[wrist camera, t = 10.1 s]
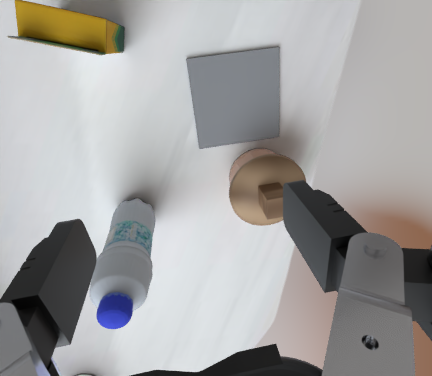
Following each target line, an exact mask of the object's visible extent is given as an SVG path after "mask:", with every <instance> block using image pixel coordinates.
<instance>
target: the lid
mask: <svg viewBox="0 0 432 376" xmlns="http://www.w3.org/2000/svg"><path fill="white" fill-rule="evenodd" d="M299 180H304V181H305V182H306V179H305V175H304V173H303V171H302V170H301V168H300V167H299V166H298V165H297V164H296V163H295V162H294V161H293V160H291V159H290V158H288V157H286V156H283V155H278V154H266V155H261V156H258V157H255V158H253V159H251V160H250V161H248V162H246V163H245V164H244V165H243V166H242V167H241V168H240V169H239V170H238V171H237V172H236V174H235V175H234V177H233V179H232V181H231V184H230V189H229V198H230V202H231V205H232V208H233V210H234V211H235V213H236V214H237V215H238V216H239V217H240V218H241V219H242V220H244V221H245V222H247V223H250V224H254V225H271V224H275V223H278V222H280V221H282V220H283V186H284V184H285V183H288V182H294V181H299Z"/></svg>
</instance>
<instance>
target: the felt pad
mask: <svg viewBox="0 0 432 376" xmlns="http://www.w3.org/2000/svg"><path fill="white" fill-rule="evenodd" d="M186 60H187V66H188V73H189V80H190V87H191V94H192V101H193V108H194V114H195V121H196V128H197V135H198V142H199V148H200V149H203V148H209V147H216V146H222V145H229V144H235V143H242V142H248V141H255V140H261V139H268V138H274V137H279V47H274V48H267V49H259V50H251V51H243V52H236V53H228V54H220V55H212V56H205V57H197V58H189V59H186Z"/></svg>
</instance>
